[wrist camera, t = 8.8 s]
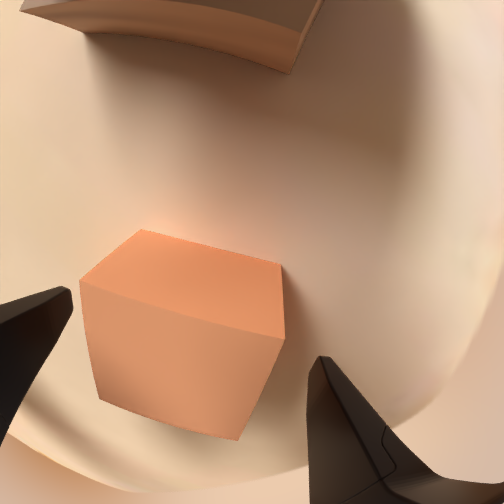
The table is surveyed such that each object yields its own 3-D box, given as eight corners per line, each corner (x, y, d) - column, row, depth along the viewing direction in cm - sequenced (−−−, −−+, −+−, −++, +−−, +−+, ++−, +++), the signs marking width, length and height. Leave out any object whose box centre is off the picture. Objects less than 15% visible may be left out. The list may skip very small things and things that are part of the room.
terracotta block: (247, 363, 12) (237, 440, 8) (137, 333, 11) (99, 398, 8) (281, 263, 10) (284, 339, 6) (143, 227, 9) (79, 280, 6)
